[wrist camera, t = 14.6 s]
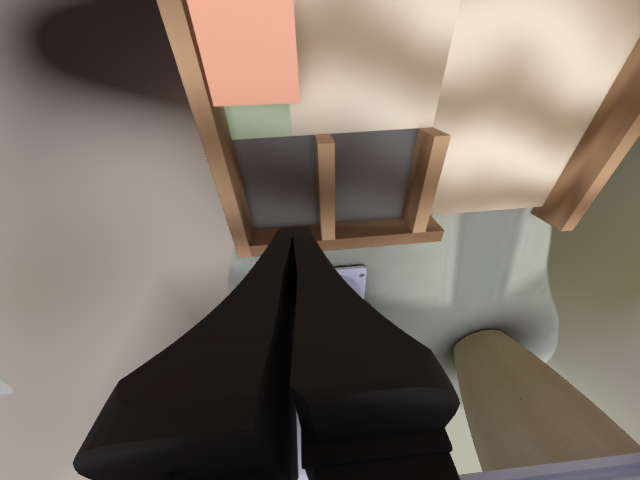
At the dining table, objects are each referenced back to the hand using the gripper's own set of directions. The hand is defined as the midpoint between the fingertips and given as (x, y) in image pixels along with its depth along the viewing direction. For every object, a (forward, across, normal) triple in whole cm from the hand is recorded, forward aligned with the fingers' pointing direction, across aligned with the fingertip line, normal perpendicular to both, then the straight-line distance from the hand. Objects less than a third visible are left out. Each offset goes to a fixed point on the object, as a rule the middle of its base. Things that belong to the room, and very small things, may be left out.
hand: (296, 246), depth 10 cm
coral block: (+9, +1, -7) cm, 11 cm away
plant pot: (+10, -24, +28) cm, 38 cm away
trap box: (+9, -8, -3) cm, 13 cm away
